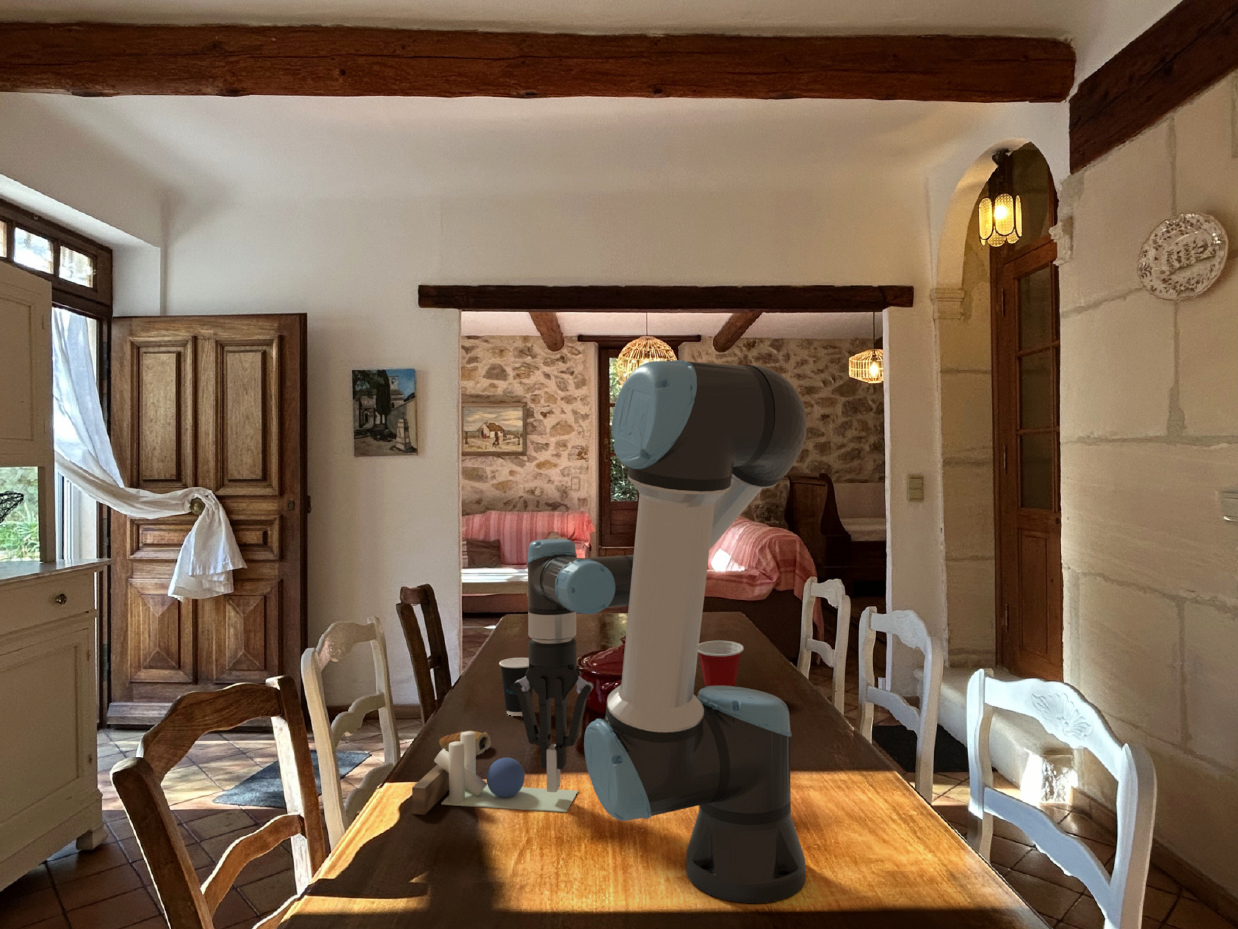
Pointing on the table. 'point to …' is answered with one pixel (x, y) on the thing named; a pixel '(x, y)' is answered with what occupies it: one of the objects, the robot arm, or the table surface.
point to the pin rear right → (456, 772)
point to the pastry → (480, 741)
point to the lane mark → (521, 800)
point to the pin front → (471, 778)
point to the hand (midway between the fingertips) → (553, 788)
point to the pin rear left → (469, 750)
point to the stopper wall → (429, 790)
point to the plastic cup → (720, 662)
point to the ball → (505, 777)
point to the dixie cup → (510, 674)
